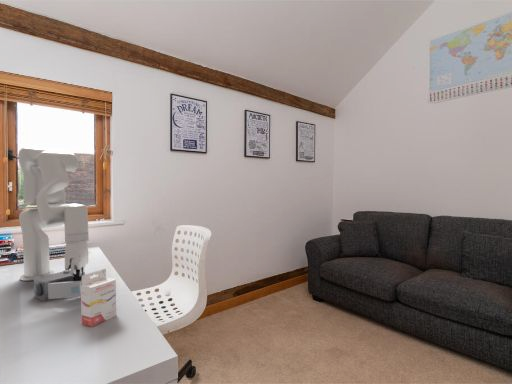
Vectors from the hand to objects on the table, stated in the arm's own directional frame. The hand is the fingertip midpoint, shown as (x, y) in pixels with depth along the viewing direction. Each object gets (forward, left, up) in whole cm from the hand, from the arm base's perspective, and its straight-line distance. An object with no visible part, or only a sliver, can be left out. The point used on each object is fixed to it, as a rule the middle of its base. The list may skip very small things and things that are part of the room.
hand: (79, 286), depth 109 cm
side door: (0, -5, -3) cm, 6 cm away
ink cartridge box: (+26, -6, -4) cm, 27 cm away
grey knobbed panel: (-10, -2, -4) cm, 11 cm away
